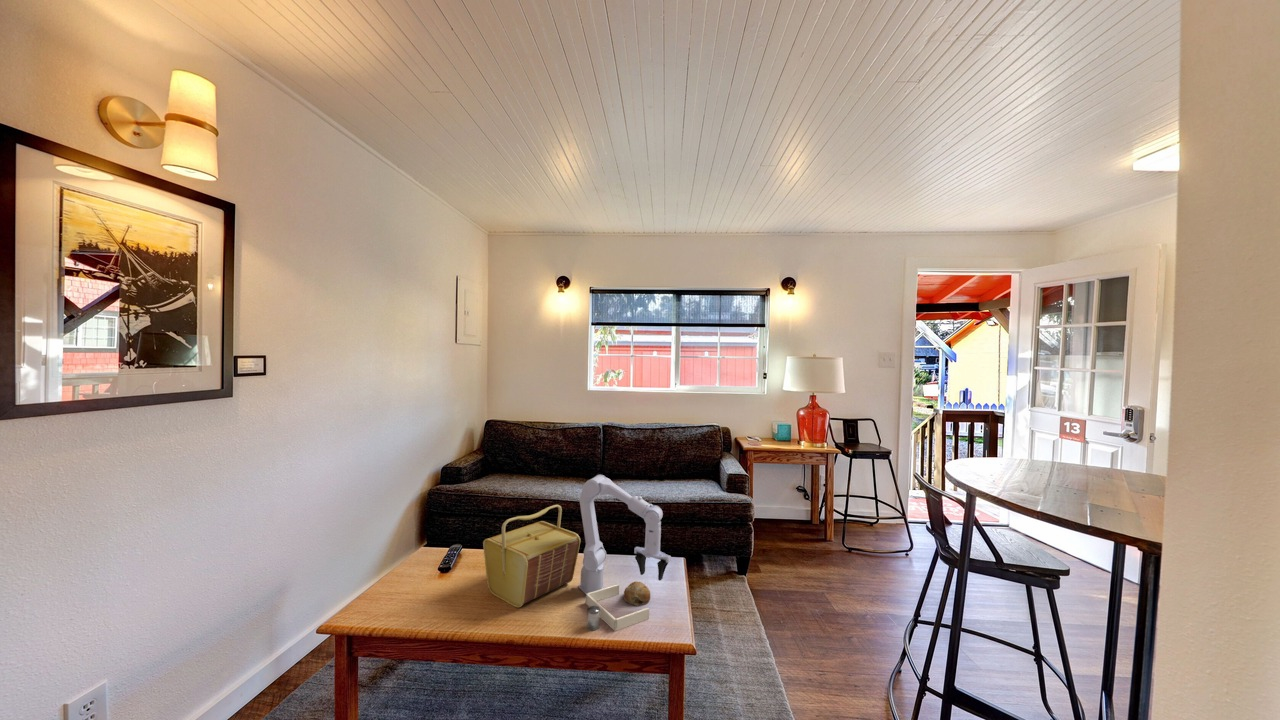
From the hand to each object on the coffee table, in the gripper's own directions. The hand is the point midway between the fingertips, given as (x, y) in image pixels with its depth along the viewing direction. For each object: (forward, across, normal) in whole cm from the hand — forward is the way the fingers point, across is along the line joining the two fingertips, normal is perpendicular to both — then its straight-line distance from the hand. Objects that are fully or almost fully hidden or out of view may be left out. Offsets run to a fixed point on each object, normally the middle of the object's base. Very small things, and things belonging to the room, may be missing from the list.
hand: (651, 576), depth 169 cm
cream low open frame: (+10, -7, -12) cm, 17 cm away
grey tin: (+10, -8, -25) cm, 28 cm away
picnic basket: (+10, -44, -17) cm, 48 cm away
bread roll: (+10, -6, 0) cm, 12 cm away
